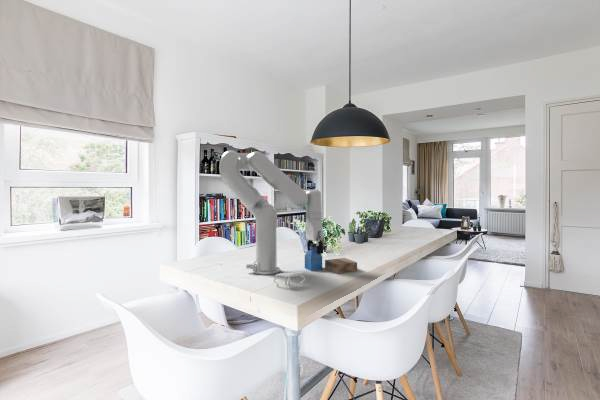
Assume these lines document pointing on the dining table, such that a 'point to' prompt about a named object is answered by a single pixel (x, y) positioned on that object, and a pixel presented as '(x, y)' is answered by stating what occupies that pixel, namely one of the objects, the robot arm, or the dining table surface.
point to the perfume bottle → (313, 259)
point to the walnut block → (341, 265)
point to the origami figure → (288, 277)
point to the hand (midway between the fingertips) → (315, 251)
